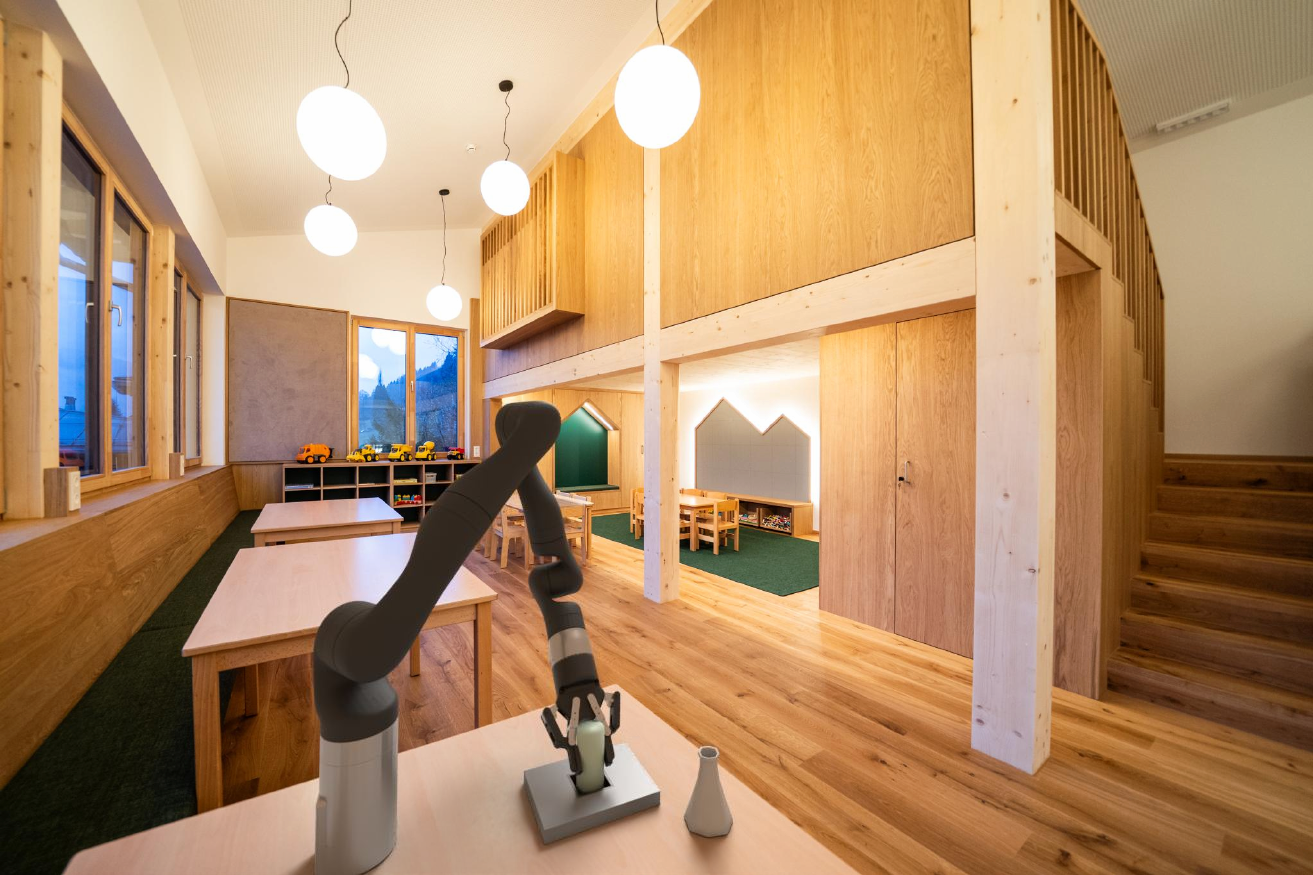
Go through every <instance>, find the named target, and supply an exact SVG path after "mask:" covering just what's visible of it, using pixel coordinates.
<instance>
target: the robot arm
mask: <svg viewBox="0 0 1313 875" xmlns="http://www.w3.org/2000/svg"><path fill="white" fill-rule="evenodd" d="M561 428H562V417H561V413H560V411H559V409H558V408H557V407H556V406H555V405H554V404H552V403H550V402H547V401H543V400H526V401H516V402H509V403H506V404H504V405H503V406H501V407H500V408H499V409H498V411H497V413H496V415H495V419H494V430H495V435H496V437H497V438H496V439H497V441H498V444H499V448H498V449H497V450H496V451H495V452H493V453H492V454H491V455H490V456H488V457H487V458H486V459H484V460H482V461H481V462H479V463H478V464H476V465H475V466H473V467H472V468H470V469H469V470H468V471H466V472H464V473H463V474H462V475H460V476H459V477H458V478H456V479H455V480H454V481H453V482H452V483H451V484H449V486H448V487H446V488H445V490H444V491H443V492H442V493H441V494H440V496H439V497H438V498H437V499H436V500H435V502H434V503H433V504H432V505H431V507H430V508H429V509H428V510H427V512H426V514H425V515H424V516H423V518H422V519H421V521H420V524H419V527H418V529H417V532H416V535H415V539H414V542H413V546H412V549H411V552H410V555H409V558H408V561H407V563H406V565H405V567H404V569H403V570H402V572H401V574H400V575H399V576H398V578H397V579H396V580H395V582H394V583H393V584H392V585H391V587H390V588H389V589H388V591H387V592H386V593H385V594H383V596H382V597H381V598H380V600H379V601H378V602H377V603H373V602H370V601H366V600H353V601H348V602H345V603H342V604H340V605H338V606H336V607H335V608H333V609H332V610H331V611H330V612H329V613H328V614H327V615H326V616H325V617H324V618H323V620H322V621H321V623H320V625H319V626H318V629H317V632H316V634H315V638H314V642H313V648H312V649H313V650H312V651H313V652H312V670H313V671H312V674H313V675H312V676H313V677H312V678H313V681H312V682H313V703H314V708H315V711H316V714H317V718H318V720H319V772H318V773H319V776H318V778H319V781H318V795H317V799H316V803H315V818H314V819H315V821H314V822H315V824H314V825H315V828H314V829H315V830H314V832H315V833H314V875H362V874H363V873H366V872H368V871H370V870H371V869H373V868H374V867H376V866H378V865H379V864H380V863H382V862H383V861H384V860H385V859H387V857H388V856H389V855H390V854H391V853H392V851H393V850H394V848H395V847H396V846H395V845H396V844H397V837H398V835H397V833H398V781H399V780H398V776H399V774H398V771H399V768H398V767H399V766H398V764H399V711H400V710H399V709H400V708H399V704H400V701H399V696H398V694H397V691H396V690H395V689H394V687H393V685H392V684H391V682H390V680H389V678H388V675H389V674H390V673H392V671H394V670H395V669H396V668H397V667H398V666H399V665H400V663H401V662H402V661H403V660H404V659H405V657H406V656H407V654H408V653H409V651H410V650H411V648H412V647H413V645H414V643H415V642H416V640H417V638H418V636H419V635H420V633H421V631H422V629H423V628H424V626H425V624H426V622H427V620H429V617H430V616H431V614H432V612H433V611H434V609H435V607H436V605H437V603H438V602H439V600H440V598H441V597H442V596H443V594H444V592H445V591H446V590H447V588H448V587H449V585H450V583H452V580H454V578H455V576H456V574H457V573H458V572H459V570H460V568H461V567H462V566H463V564H464V563H465V561H466V560H467V558H468V557H469V556H470V554H471V553H472V552H473V550H474V549H475V548H476V546H477V545H478V544H479V543H480V541H481V540H482V538H483V537H484V535H486V533H487V532H488V530H489V529H490V527H491V526H492V525H493V523H494V521H495V520H496V518H497V517H498V516H499V514H500V512H501V511H502V509H503V508H504V507H505V505H506V504H507V502H509V500H510V498H511V497H512V496H513V495H514V493H515V492H516V493H517V495H518V497H519V500H520V504H521V507H522V511H523V514H524V515H523V516H524V519H525V525H526V531H527V535H528V539H529V545H530V550H531V551H532V553H533V554H534V555H535V556H537V557H552V558H553V557H554V558H558V559H559V560H557V561H552V562H548V563H543V564H540V565H536V566H535V567H533V568H532V569H531V571H530V572H529V575H528V577H527V578H528V579H527V582H528V588H529V590H530V592H531V594H532V597H533V599H534V600H535V601H536V604H537V605H538V608H539V610H540V612H541V615H542V618H543V621H544V624H545V630H546V635H547V636H546V637H547V641H548V654H549V664H550V667H551V672H552V678H553V682H554V683H553V684H554V690H555V694H556V695H555V696H556V698H555V699H556V700H555V703H554V704H553V705H551V706H549V707H548V706H547V707H544V708H543V709H542V712H541V714H540V719H541V721H542V724H543V726H544V727H545V730H546V732H547V735H548V737H549V739H550V741H551V743H552V745H553V747H554V749H557V750H558V749H562V750H563V749H564V750H565V751H566V753H567V759H569V765H570V770H571V771H572V773H573V772H575V775H576V776H578V775H581V773H582V772H583V769H582V764H581V758H580V753H579V748H578V745H577V727H578V725H579V724H580V723H582V722H585V721H589V720H596V721H599V722H601V723H603V724H604V763H605V766H606V767H608V766H611V764H612V763H613V759H614V758H615V753H614V748H613V746H614V745H613V744H614V743H613V740H612V735H614V734H615V733H616V732H617V731H618V730H619V729H620V727H621V692H620V691H619V690H615V691H614V692H605V690H604V689H603V687H602V686H601V682H600V678H599V674H598V670H597V666H596V661H595V656H594V652H593V648H592V644H591V641H590V638H589V636H588V633H587V629H586V625H585V620H584V616H583V612H582V608H581V606H580V604H578V603H577V602H574V601H557V600H555V599H558V598H562V597H566V596H570V595H574V594H576V593H578V592H579V591H580V590H581V589H582V587H583V584H584V574H583V571H582V568H581V567H580V565H579V563H578V561H577V560H576V557H575V555H574V554H573V552H572V549H571V547H570V545H569V544H570V543H569V542H568V538H567V534H566V528H565V523H564V517H563V513H562V509H561V507H560V504H559V502H558V500H557V498H556V496H555V494H554V493H553V491H552V490H551V488H550V487H549V485H548V483H547V482H546V480H545V479H544V477H543V475H542V473H541V471H540V469H539V466H538V463H540V461H541V460H542V459H543V458H544V457H545V455H546V454H547V453H548V452H549V451H550V449H551V448H552V447H553V446H554V445H555V444H556V442H557V440H558V438H559V435H560V433H561ZM603 702H606V706H607V708H609V722H608V723H609V724H608V723H607V720H606V717H605V715H604V713H603V710H602V709H601V708H602V705H603ZM557 712H558V713H559V714H560V715H561V716H562V717H563V718H564V719H565V720H566V732H565V734H566V735H565V736H564V734H563V733H562V731H561V728H560V726H559V724H558V723H557V718H558V714H557Z"/></svg>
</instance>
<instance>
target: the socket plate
mask: <svg viewBox="0 0 1313 875" xmlns="http://www.w3.org/2000/svg"><path fill="white" fill-rule="evenodd" d="M613 748H614V753H615V758H614V759H613V763H612V764H611V766H608V767H606V766H605V763H604V788H603V789H600V790H597V791H593V792H590V793H587V794H584V795H581V796H579V794H578V792H577V790H576V775H575V772H573V773H572V771H571V770H570V765H569V759H568V758H565V759H561V760H558V761H554V762H551V763H548V764H547V763H546V764H544V765H540V766H535V767H533V768H530V769H526V770H523V785H524V788H525V791H526V794H527V798H528V800H529V803H530V806H531V809H532V813H533V815H534V818H535V821H536V824H537V827H538V830H539V832H540V836H541V839H542V842H543V845H545V846H546V845H548V844H550V843H554V842H556V841H560V840H562V839H565V838H568V837H570V836H573V835H576V834H579V833H581V832H585V831H587V830H590V829H594V828H596V827H598V826H602V825H604V824H607V823H610V822H613V821H616V820H618V819H623V818H624V817H627V816H630V815H633V814H636V813H638V812H641V811H644V810H646V809H649V808H650V809H651V808H653V807H656V806H657V805H658V806H659V805H661V790H660V788H659V786H657V784H656V783H655V782H654V780H653V778H652V777H651V776H650V775H649V773H648V772H647V771H646V769H645V768H644V767H643V764H642V763H641V762H640V761H639V759H638V758H637V757H636V755H635V754H634V753H633V751H632V749H631V748H630V747H629V745H628V744H627V743H626V742H621V743H618V744H614V745H613Z"/></svg>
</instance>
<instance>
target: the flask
mask: <svg viewBox="0 0 1313 875" xmlns="http://www.w3.org/2000/svg"><path fill="white" fill-rule="evenodd" d="M697 756H698V757H699V767H698V768H699V769H698V773H697V778H696V781H695V783H694V787H693V790H692V793H691V796H690V799H689V801H688V805H687V807H686V809H685V812H684V815H683V817H684V819H685V823H686V825H687V827H688V830H689V831H690V832H692V833H695V834H698V835H701V836H704V837H707V838H711V837H718V836H724V835H728V834H729V831H730V829H731V827H732V824H733V821H734V819H733V817H732V816H733V815H732V813H731V810H730V807H729V805H728V801H727V797H726V795H725V793H724V792H725V791H724V788H723V786H722V783H721V779H720V774H719V773H720V772H719V767H718V761H719V760H718V759H719V758H720V752H719V750H718V748H717V747H715V746H710V745H705V746H700V747H699V749H698V751H697Z"/></svg>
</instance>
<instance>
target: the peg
mask: <svg viewBox="0 0 1313 875" xmlns="http://www.w3.org/2000/svg"><path fill="white" fill-rule="evenodd" d="M576 745H578V748H579V753H580V758H581V764H582V769H583V772H582V773H581V775H578V776H576V786H575V788H576V790H577V792H578V794H579V796H581V795H584V794H587V793H590V792H593V791H597V790H600V789H603V788H605V787H604V724H603V723H601V722H599V721H596V720H589V721H585V722H582V723H580V724H579V725H578V727H577V737H576Z"/></svg>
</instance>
